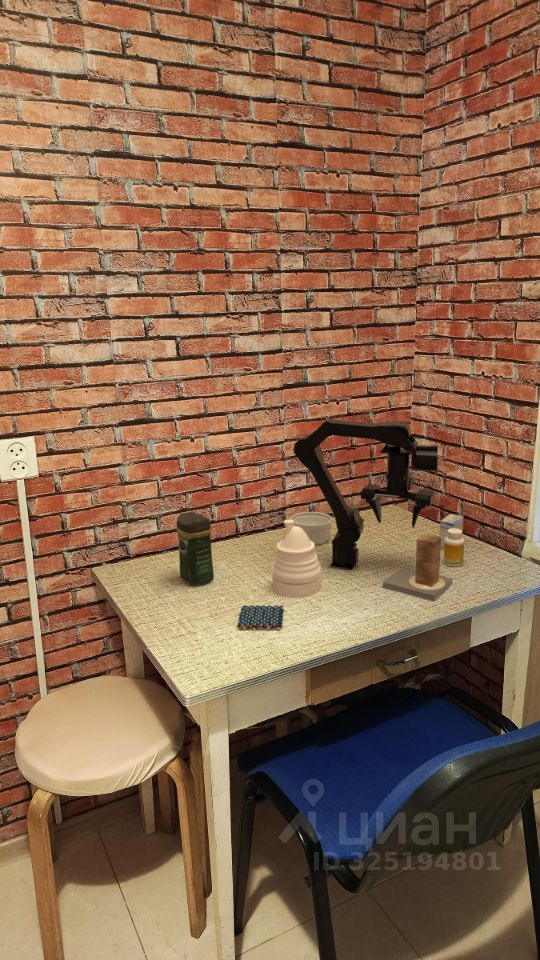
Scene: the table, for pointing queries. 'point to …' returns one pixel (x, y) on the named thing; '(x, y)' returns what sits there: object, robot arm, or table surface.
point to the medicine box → (450, 526)
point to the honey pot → (296, 565)
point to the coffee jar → (195, 548)
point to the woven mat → (260, 617)
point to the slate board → (415, 584)
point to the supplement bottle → (453, 548)
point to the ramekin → (314, 525)
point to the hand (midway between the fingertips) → (396, 524)
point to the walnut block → (428, 560)
